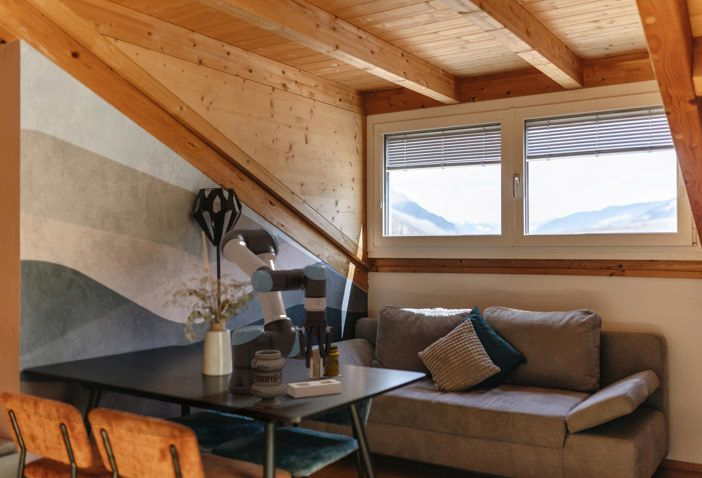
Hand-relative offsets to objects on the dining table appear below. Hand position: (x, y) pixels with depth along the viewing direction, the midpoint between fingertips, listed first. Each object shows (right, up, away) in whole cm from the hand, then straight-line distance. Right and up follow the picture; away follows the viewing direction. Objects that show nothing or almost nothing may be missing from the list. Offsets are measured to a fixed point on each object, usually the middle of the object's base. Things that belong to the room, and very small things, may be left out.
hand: (315, 376), depth 249 cm
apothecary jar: (-15, -8, -10) cm, 20 cm away
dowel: (0, -1, 0) cm, 1 cm away
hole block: (-1, -8, +9) cm, 12 cm away
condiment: (+4, -8, +43) cm, 44 cm away
